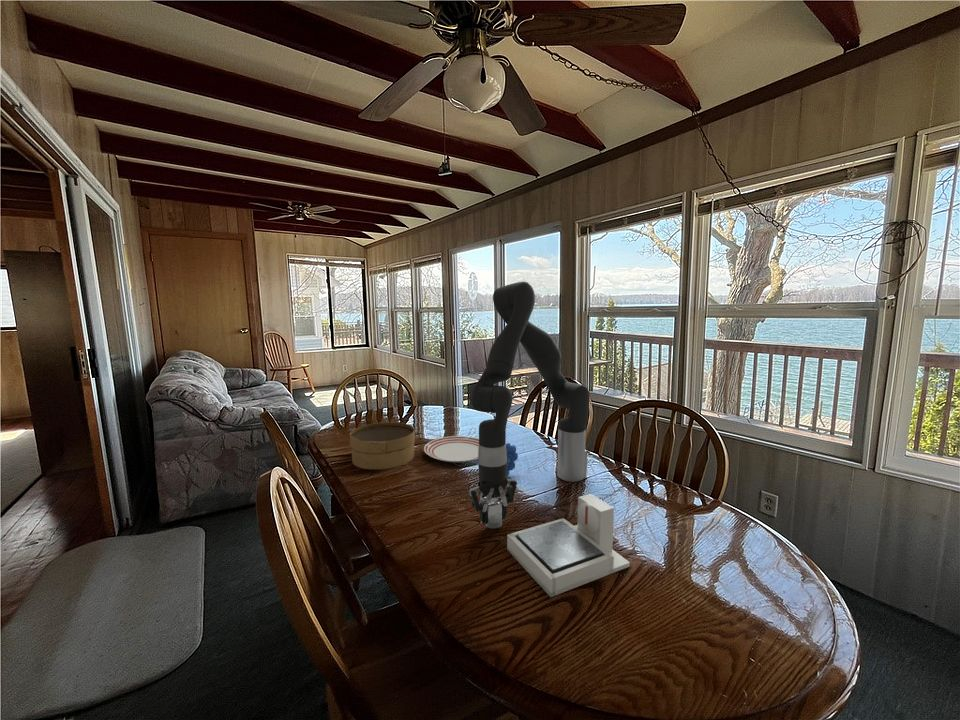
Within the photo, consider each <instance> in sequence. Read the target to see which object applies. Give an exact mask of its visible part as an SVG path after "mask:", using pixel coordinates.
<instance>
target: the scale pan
mask: <svg viewBox="0 0 960 720" xmlns="http://www.w3.org/2000/svg"><path fill="white" fill-rule="evenodd" d="M517 539H518V540H519V541H520V542H521V543H522V544H523V545H524V546H525V547H526V548H527V549H528V550H529V551H530V552H531V553H532V554H533V555H534V556H535V557H536V558H537V559H538V560H539V561H540V562H541V563H542V564H543V565H544V566H545V567H546V568H547V569H548V570H549V571H550V572H551V573H552V574H554V573H557V572H560V571H562V570H565V569H568V568H571V567H573V566H576V565H579V564H582V563H585V562H587V561H590V560H593V559H596V558H598V557H601V556H603V552H602V551H601V550H600V549H598V548H597V547H596V546H594V545H593V544H592V543H590V542H589V541H588V540H587V539H585V538H584V537H583V536H581V535H580V534H579V533H577V532H576V531H575V530H574V529H572V528H571V527H570V526H568V525H567V524H566V523H564V522H563V521H560V522H557V523H553V524H550V525H547V526H543V527H540V528H536V529H533V530H529V531H526V532H523V533H519V534H517Z"/></svg>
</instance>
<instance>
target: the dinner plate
mask: <svg viewBox="0 0 960 720" xmlns="http://www.w3.org/2000/svg"><path fill="white" fill-rule="evenodd" d="M478 449H479V437H478V438H477V437H473V436H464V435H462V436H461V435H453V436H452V435H451V436H443V437H439V438H436V439H432V440H431V441H429V442H427V443H426V444H425V445H424V446H423V451H424V453H425V455H428V456H429V457H430V458H433V459H435V460H438V461H442V462H447V463H455V464H456V463H467V462H472V461H476V460H478Z"/></svg>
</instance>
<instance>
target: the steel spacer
mask: <svg viewBox="0 0 960 720" xmlns="http://www.w3.org/2000/svg"><path fill="white" fill-rule="evenodd" d="M486 511H487V524H485V525H484V526H485V527H486V528H489V529H497V528H499V529H500V528H501V527H502V526H503V520H502V501H501V500H500V499H498V497H494V498H492V499H491V500H490V503H489V504H488V507H487V510H486Z"/></svg>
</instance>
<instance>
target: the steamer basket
mask: <svg viewBox="0 0 960 720" xmlns="http://www.w3.org/2000/svg"><path fill="white" fill-rule="evenodd" d="M415 432H416V430H415V428H414V426H413V425H410V424H408V423H405V422H404V423H403V422H396V421H395V422H391V421H389V422H387V421H386V422H384V421H383V422H376V423H371V424H366V425H362V426H359V427H357V428H354V429H353V430H350V432H349V441H350V442H349V445H350V447H351V462H352V464H353V465H354V466H355V467H357V468H360V469H364V470H387V469H393V468H398V467H400V466H401V467H402V466H404V465H406V464H408V463H410V462H411V461H412V460H413V459H414V457H415V441H416V436H415V435H416V433H415Z"/></svg>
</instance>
